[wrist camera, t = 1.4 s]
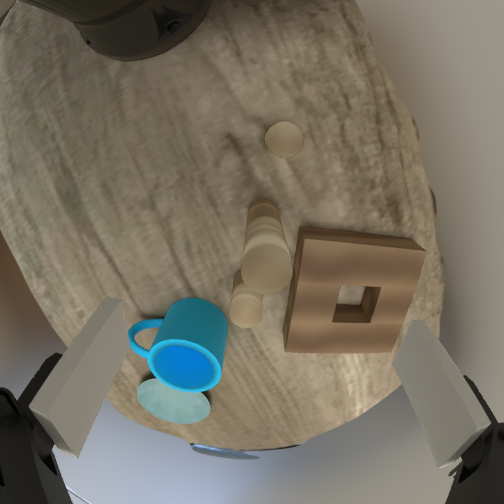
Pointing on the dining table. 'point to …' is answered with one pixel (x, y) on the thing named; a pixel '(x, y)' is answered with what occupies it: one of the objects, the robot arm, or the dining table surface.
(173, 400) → the saucer
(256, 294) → the dowel mid
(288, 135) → the dowel short
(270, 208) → the dowel long
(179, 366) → the mug
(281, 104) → the dining table surface
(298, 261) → the collar block
